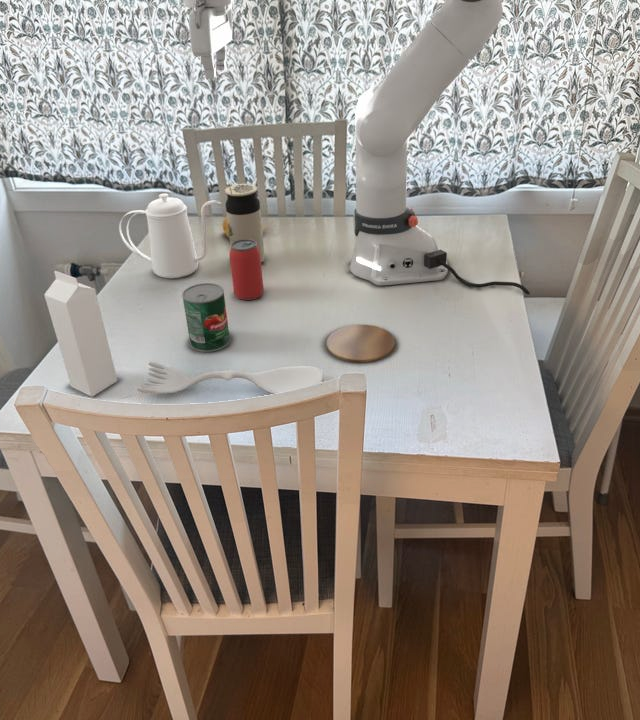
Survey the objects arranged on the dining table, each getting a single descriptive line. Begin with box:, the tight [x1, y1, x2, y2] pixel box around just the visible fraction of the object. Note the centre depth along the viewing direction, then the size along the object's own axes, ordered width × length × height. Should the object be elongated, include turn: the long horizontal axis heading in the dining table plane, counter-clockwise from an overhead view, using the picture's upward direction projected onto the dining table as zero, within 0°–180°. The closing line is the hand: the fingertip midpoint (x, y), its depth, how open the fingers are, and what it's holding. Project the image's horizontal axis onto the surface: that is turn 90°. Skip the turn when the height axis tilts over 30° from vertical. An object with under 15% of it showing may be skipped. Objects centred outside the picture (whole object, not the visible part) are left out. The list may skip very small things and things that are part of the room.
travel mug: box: [224, 183, 266, 263], centre depth 161 cm, size 8×8×18 cm
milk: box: [43, 270, 118, 398], centre depth 117 cm, size 6×6×22 cm
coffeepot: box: [118, 192, 222, 279], centre depth 158 cm, size 11×25×19 cm, turn 84°
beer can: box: [229, 239, 265, 301], centre depth 147 cm, size 7×7×12 cm
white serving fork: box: [136, 361, 325, 395], centre depth 119 cm, size 9×32×4 cm, turn 86°
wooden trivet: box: [326, 324, 396, 364], centre depth 130 cm, size 13×13×1 cm
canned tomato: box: [181, 282, 231, 353], centre depth 131 cm, size 8×8×11 cm
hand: (216, 74), depth 134 cm, fingers open, 8 cm apart
